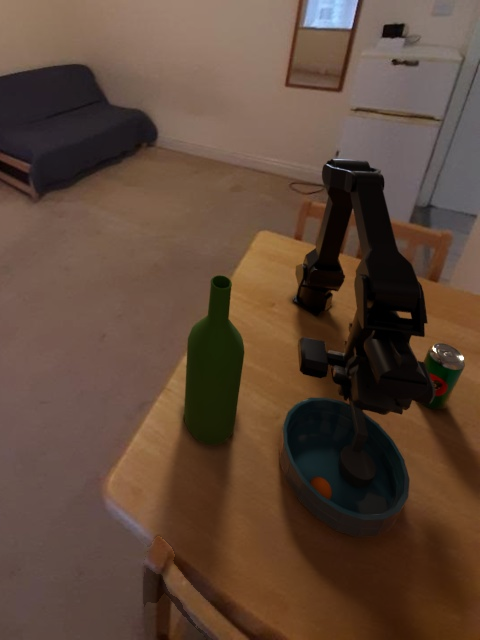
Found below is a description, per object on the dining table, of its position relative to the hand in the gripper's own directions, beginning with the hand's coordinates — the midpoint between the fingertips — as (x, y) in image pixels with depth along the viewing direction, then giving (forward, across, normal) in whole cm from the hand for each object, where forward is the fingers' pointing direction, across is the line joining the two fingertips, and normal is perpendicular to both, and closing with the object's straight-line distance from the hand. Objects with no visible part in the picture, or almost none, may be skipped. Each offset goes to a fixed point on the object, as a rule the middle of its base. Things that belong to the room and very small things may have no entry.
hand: (350, 399), depth 69 cm
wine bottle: (+6, -23, -7) cm, 25 cm away
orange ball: (+4, -6, -14) cm, 15 cm away
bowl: (+6, -2, -9) cm, 11 cm away
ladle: (+4, 0, -3) cm, 5 cm away
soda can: (+6, +15, +9) cm, 19 cm away
